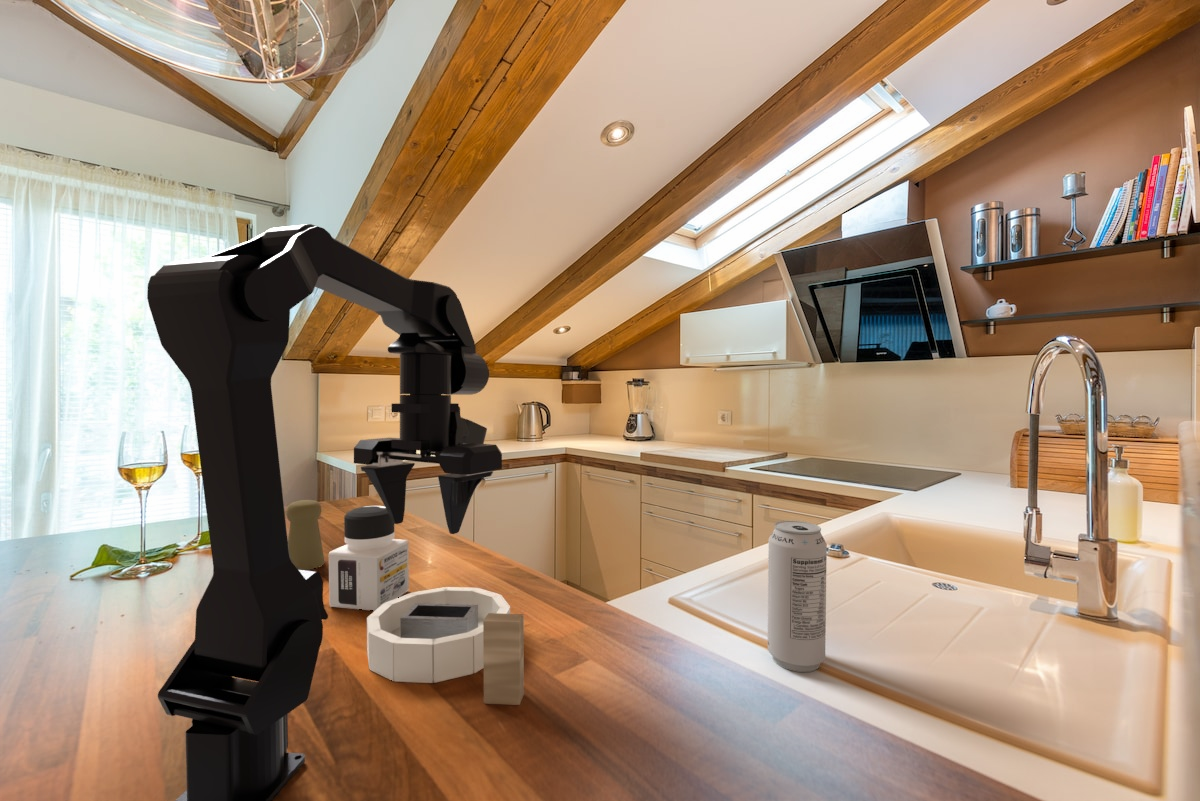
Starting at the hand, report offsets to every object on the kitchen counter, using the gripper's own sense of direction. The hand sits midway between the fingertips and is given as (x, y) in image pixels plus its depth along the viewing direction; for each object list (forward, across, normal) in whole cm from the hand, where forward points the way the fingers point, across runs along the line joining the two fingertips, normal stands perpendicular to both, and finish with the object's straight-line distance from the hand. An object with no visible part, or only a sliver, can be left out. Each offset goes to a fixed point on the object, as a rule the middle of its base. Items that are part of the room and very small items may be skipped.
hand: (425, 528), depth 64 cm
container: (+14, +17, -6) cm, 23 cm away
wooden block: (+14, -15, +4) cm, 21 cm away
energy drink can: (+14, -38, -18) cm, 45 cm away
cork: (+14, +39, -10) cm, 43 cm away
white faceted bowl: (+14, -2, -1) cm, 14 cm away
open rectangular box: (+14, -2, -1) cm, 14 cm away
